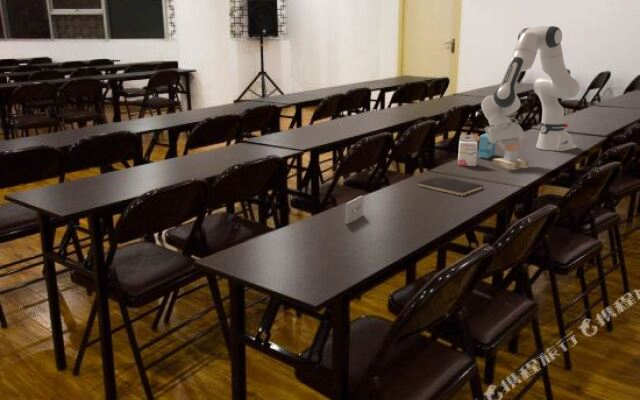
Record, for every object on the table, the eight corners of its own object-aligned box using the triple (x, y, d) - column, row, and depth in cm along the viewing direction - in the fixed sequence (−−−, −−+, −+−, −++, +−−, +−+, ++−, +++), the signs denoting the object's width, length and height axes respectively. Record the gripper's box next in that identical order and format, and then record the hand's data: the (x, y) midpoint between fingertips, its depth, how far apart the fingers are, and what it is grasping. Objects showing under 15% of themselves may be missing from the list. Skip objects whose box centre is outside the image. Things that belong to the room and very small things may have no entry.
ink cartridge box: (458, 165, 291) (460, 136, 287) (457, 163, 296) (459, 134, 291) (476, 166, 290) (478, 136, 286) (474, 163, 295) (476, 134, 290)
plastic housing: (511, 158, 291) (513, 143, 289) (517, 160, 288) (519, 144, 285) (503, 159, 289) (505, 144, 287) (509, 161, 286) (511, 145, 283)
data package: (486, 159, 304) (488, 136, 300) (478, 158, 306) (479, 135, 303) (494, 154, 313) (496, 132, 310) (486, 153, 316) (488, 131, 312)
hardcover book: (461, 197, 242) (462, 192, 241) (417, 187, 258) (417, 182, 257) (482, 189, 252) (483, 184, 252) (438, 180, 268) (438, 175, 267)
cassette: (360, 214, 221) (360, 195, 219) (364, 215, 220) (364, 195, 218) (344, 223, 212) (344, 203, 209) (348, 224, 211) (348, 204, 208)
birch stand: (511, 162, 297) (511, 156, 296) (528, 167, 286) (528, 161, 285) (492, 164, 292) (492, 159, 291) (509, 170, 282) (509, 164, 281)
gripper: (486, 122, 285) (499, 146, 279) (519, 119, 293) (531, 142, 288) (480, 130, 290) (492, 153, 285) (512, 126, 298) (524, 149, 293)
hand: (512, 147), depth 286 cm, fingers open, 8 cm apart
